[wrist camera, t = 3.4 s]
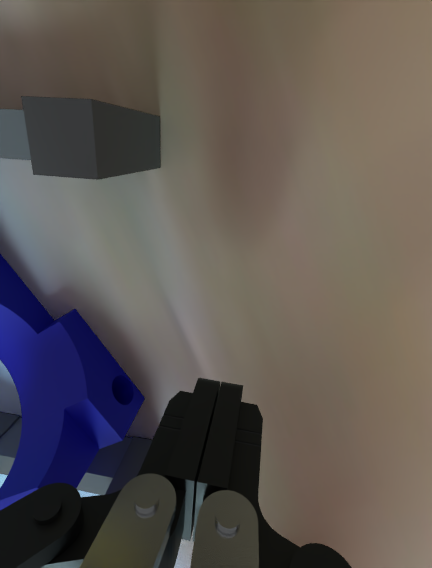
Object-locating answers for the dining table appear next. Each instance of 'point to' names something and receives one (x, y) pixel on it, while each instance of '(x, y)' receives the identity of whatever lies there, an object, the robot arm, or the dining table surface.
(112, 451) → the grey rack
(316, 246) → the dining table surface
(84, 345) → the blue curved block
